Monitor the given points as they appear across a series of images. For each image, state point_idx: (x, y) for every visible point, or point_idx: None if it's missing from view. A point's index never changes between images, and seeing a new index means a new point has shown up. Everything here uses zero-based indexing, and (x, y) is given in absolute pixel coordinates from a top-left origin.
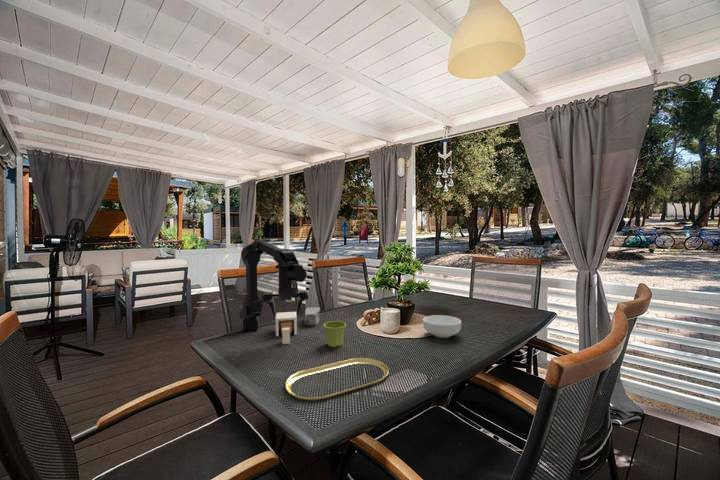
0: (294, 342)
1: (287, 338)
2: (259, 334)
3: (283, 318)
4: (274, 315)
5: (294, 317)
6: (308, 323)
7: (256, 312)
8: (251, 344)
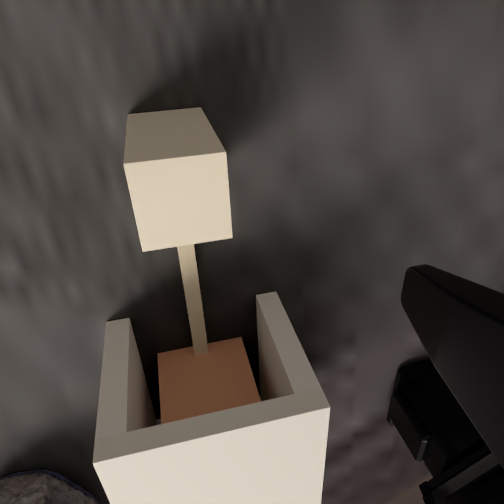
0: (83, 140)
1: (152, 125)
2: (384, 322)
3: (247, 423)
4: (436, 274)
5: (121, 457)
6: (50, 487)
7: (483, 489)
8: (454, 135)
